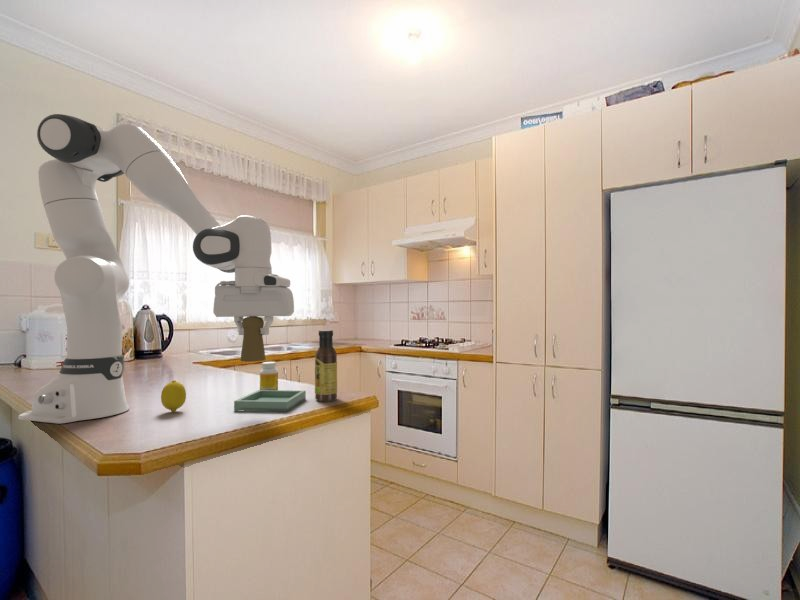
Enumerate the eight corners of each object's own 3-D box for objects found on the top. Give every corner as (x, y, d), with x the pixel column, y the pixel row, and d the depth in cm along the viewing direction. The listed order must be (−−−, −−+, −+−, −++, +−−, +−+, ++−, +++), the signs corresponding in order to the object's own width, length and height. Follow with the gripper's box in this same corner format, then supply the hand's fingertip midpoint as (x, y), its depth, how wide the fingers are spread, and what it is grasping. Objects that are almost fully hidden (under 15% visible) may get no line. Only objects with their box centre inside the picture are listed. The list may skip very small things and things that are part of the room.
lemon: (155, 413, 100) (156, 381, 100) (175, 408, 105) (175, 377, 105) (171, 415, 98) (171, 382, 98) (191, 410, 103) (191, 379, 103)
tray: (234, 410, 102) (234, 401, 102) (258, 398, 116) (258, 390, 116) (287, 411, 101) (287, 401, 101) (305, 399, 115) (305, 390, 115)
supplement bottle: (257, 393, 124) (257, 362, 124) (275, 391, 127) (275, 360, 127) (261, 396, 119) (262, 364, 120) (280, 394, 122) (280, 362, 122)
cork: (255, 361, 97) (255, 316, 98) (234, 361, 99) (234, 316, 99) (270, 358, 103) (270, 316, 103) (250, 358, 105) (250, 316, 105)
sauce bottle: (315, 397, 117) (315, 329, 117) (337, 396, 118) (336, 329, 118) (314, 402, 110) (314, 330, 111) (337, 401, 111) (337, 330, 112)
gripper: (207, 280, 100) (208, 335, 100) (286, 278, 98) (286, 335, 97) (222, 282, 106) (222, 334, 106) (296, 280, 104) (296, 333, 104)
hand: (253, 334), depth 102 cm, fingers closed on cork, 4 cm apart
